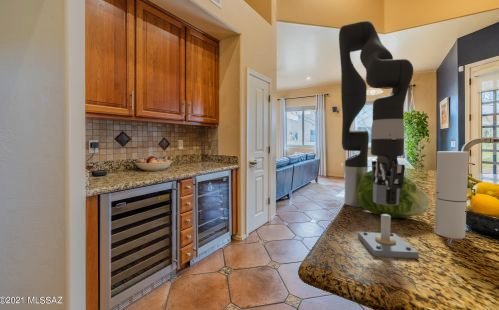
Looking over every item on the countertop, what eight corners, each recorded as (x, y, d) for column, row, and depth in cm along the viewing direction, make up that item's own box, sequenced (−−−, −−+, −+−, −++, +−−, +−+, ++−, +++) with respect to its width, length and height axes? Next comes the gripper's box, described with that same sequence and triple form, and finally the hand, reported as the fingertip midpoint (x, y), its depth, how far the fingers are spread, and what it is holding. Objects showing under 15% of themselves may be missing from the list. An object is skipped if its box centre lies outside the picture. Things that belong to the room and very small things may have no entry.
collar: (370, 200, 67) (370, 182, 66) (391, 200, 66) (392, 182, 66) (378, 205, 61) (379, 185, 61) (402, 205, 60) (402, 186, 60)
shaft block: (358, 237, 71) (358, 208, 70) (394, 238, 69) (394, 209, 69) (374, 256, 59) (375, 222, 58) (418, 258, 58) (419, 223, 57)
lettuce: (426, 231, 76) (438, 178, 76) (349, 208, 89) (359, 163, 89) (422, 226, 90) (432, 181, 90) (356, 207, 103) (365, 168, 103)
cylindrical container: (456, 231, 75) (459, 151, 73) (471, 240, 68) (474, 152, 67) (430, 228, 77) (432, 151, 75) (441, 237, 70) (444, 152, 69)
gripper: (362, 138, 70) (361, 195, 71) (384, 137, 56) (382, 208, 57) (389, 138, 69) (388, 195, 70) (418, 136, 55) (416, 209, 56)
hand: (385, 200), depth 63 cm, fingers closed on collar, 5 cm apart
